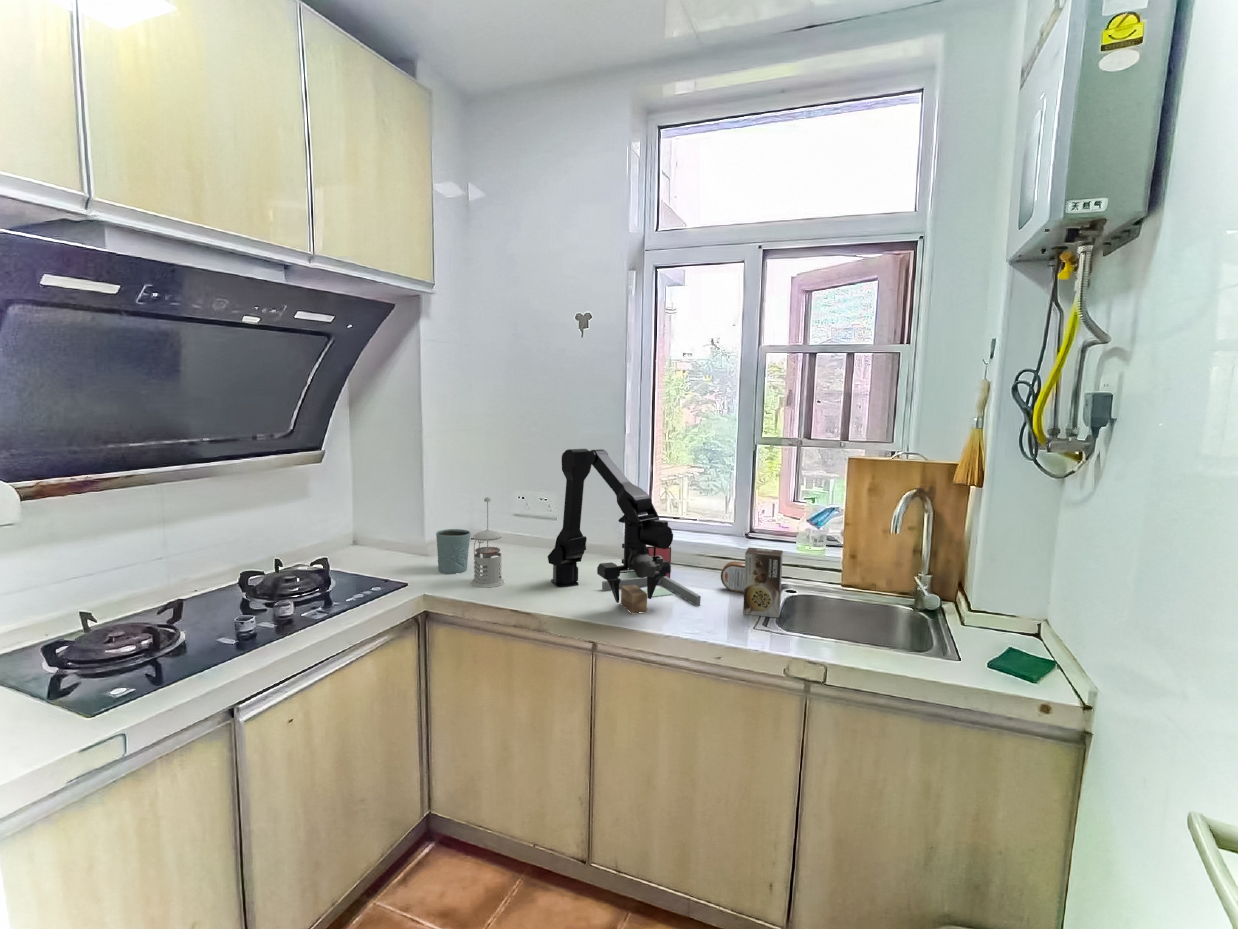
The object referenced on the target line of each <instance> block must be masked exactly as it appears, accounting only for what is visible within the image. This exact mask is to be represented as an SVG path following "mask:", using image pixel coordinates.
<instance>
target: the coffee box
mask: <svg viewBox="0 0 1238 929" xmlns="http://www.w3.org/2000/svg"><path fill="white" fill-rule="evenodd" d="M783 552H784V551H783V550H779V549H769V548H758V547H748V548H747V549H746V551H745V553H744V563H745V578H744V593H743V605H742V606H743V610H742V614H743V615H744V614H745V615H752V616H760V617H768V618H769V617H770V618H776V619H777V618H778V619H779V618H780V614H781V599H782V597H781V596H782V579H783V578H782V575H783V574H782V573H783Z"/></svg>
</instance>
